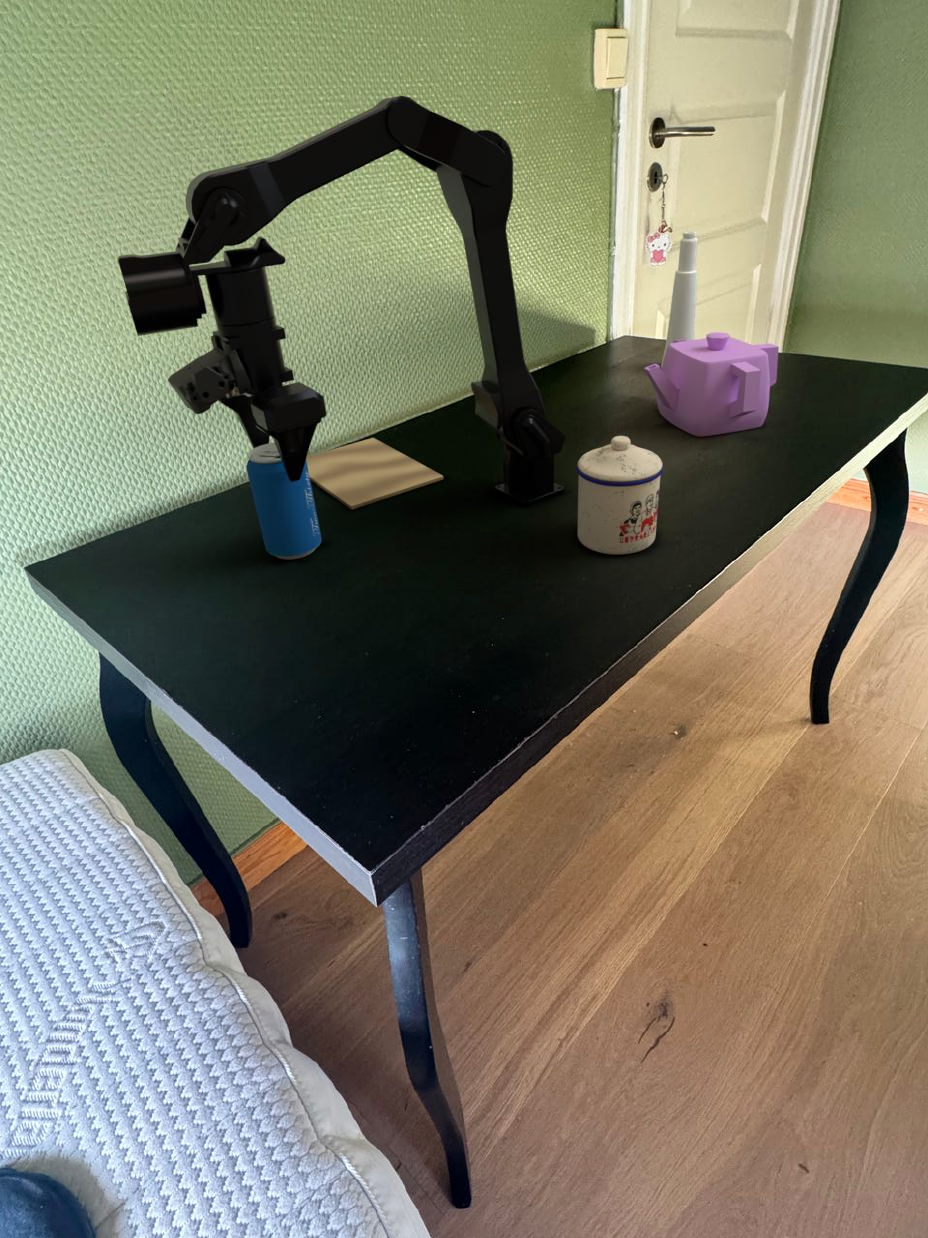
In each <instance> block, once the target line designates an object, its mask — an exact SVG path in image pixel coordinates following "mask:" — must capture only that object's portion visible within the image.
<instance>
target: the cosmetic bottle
mask: <svg viewBox="0 0 928 1238" xmlns="http://www.w3.org/2000/svg"><path fill="white" fill-rule="evenodd" d="M697 233H698V232H696V231H684V232H682V238H681V239H680V241H679V242H680V243H679V254H678V265H677V266H678V267H677V270H675V273H674V279H673V287H672V295H671V304H670V310H669V311H670V313H669V320H668V327H667V335H666V340H665V346H664V351H663V356H662V360H661V364H660V368H661V369H662V365H663V361H664V358H665V354H666V351H667V348H668V345H669V344H671V343H673V340H680V339H684V340H687V341H689V340H695V334H696V333H695V332H696V331H695V328H696V307H697V289H698V288H697V287H698V270H697V269H696V265H697V263H696V262H697V255H698V254H697V252H698V241H699V240H698V238H697V235H698V234H697Z"/></svg>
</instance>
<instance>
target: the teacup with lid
mask: <svg viewBox="0 0 928 1238" xmlns="http://www.w3.org/2000/svg"><path fill="white" fill-rule="evenodd" d="M576 472H577V474H578V488H577V491H578V493H577V538H578V540H579V542H580V543H581V544H582V545H583V546H584V547H586V548H587V549H589V550H592V551H594V552H597V553H599V554H600V553H601V554H605V555H617V556H618V555H630V554H635V553H638V552H641V551H644V550H645V549H648V548H649V547H650V546H652V544H653V543H654V541H655V540H656V535H657V534H656V533H657V524H658V523H657V522H658V511H659V498H660V485H661V476H662V474H663V473H664V464H663V461H662V459H661V458H660V456H659V455H657V454H656V453H655V452H653V451H651V450H649V449H646V448H642V447H638V446H636V445H635V444H631V439H630V438H629V437H628V436H625V435H616V436H614V437H613V438H611V441H610V444H606V445H604V446H602V447H598V448H594V449H592V450H591V449H590V451H587V452H585V453H584V454H583V455H582V456H580V458H579V460H578V461H577V464H576Z"/></svg>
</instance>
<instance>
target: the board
mask: <svg viewBox="0 0 928 1238" xmlns="http://www.w3.org/2000/svg"><path fill="white" fill-rule="evenodd" d="M306 461H307V466H308V471H309V476H310V482H311V483H313V484H315V485H317V487H319V488H321V489H322V490H323V491H324V492H326V493H328V494H329V495H330V496H332V497H333V498H335V499H336V500H338V501H339V502H340V503H342V504H343V505H345V506H346V507H347V508H348V509H350V510H355V509H359V508H361V507H364V506H367V505H370V504H373V503H376V502H377V503H378V502H379V501H383V500H387V499H388V498H392V497H395V496H397V495H401V494H403V493H406V492H409V491H412V490H415V489H418V488H421V487H425V486H428V485H431V484H434V483H437V482H440V481H442V480H444V479H445V478H444V475H442V474H440V473H439V472H437V471H435V470H434V469H432V468H430V467H427V466H426V465H424V464H422V463H420V462H419V461H417V460H415V459H414V458H411V457H410V456H408V455H406V454H404V453H402V452H400V451H398V450H396V449H395V448H393V447H391V446H389V445H387V444H386V443H384V442H382V441H380V440H378V439H377V438H375V437H371V438H368V439H364V440H361V441H357V442H353V443H350V444H346V445H343V446H340V447H336V448H333V449H329V450H326V451H325V450H324V451H323V452H319V453H316V454H315V453H314V454H312V455H309V456H308V455H307V457H306Z"/></svg>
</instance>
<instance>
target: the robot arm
mask: <svg viewBox="0 0 928 1238" xmlns="http://www.w3.org/2000/svg"><path fill="white" fill-rule="evenodd" d="M395 151H399V152H400V153H402V154H404V156H406V157H408V158H409V159H411V160H413V162H415V163H417V164H418V165H420V166H422V167H424V168H426V169H427V170H430V171H431V172H434V173H435V174H436V177H437V179H438V183H439V186H440V188H441V189H440V190H441V192H442V194H443V195H442V196H443V197H444V200H445V203H446V206H447V208H448V210H449V212H450V213H451V215H452V217H453V219H454V221H455V223H456V225H457V227H458V229H459V231H460V233H461V236H462V242H463V247H464V252H465V259H466V263H467V270H468V275H469V276H468V277H469V282H470V287H471V294H472V298H473V303H474V311H475V315H476V316H475V317H476V322H477V328H478V334H479V338H480V344H481V351H482V357H483V362H484V363H483V364H484V367H483V371H482V376H481V380H478V381H472V382H471V383H470V387H471V391H472V395H473V396H474V399H475V408H474V414H475V415H476V416H478V417H479V418H481V420H482V422H483V423H484V425H485V426H486V427H488V428H489V429H491V430H492V431H493V432H494V435H495V436H496V438H497V440H499V441H502V446H503V447H502V448H503V450H502V451H503V452H502V465H503V466H502V467H503V469H502V471H503V481H504V483H501V484H498V485H495V489H494V491H496V492H497V493H499V494H501V495H503V496H505V497H507V498H508V499H510V500H512V501H514V502H516V503H518V504H520V505H522V506H529V505H532V504H534V503H537V502H541V501H542V500H545V499H547V498H551V497H553V496H556V495H558V494H561V493H563V492H564V491H565V490H564V486H561V485H560V484H558V483H555V455H556V454H559V453H561V452H562V449H563V446H564V443H565V440H566V435H565V434H564V433H563V432H562V431H561V430H560V429H558V428H557V427H556V426H555V425H554V424H553V423H551V422H550V421H548V419H547V411H546V408H545V405H544V402H543V399H542V396H541V391H540V389H539V387H538V385H537V383H536V381H535V379H534V377H533V375H532V374H531V372H530V370H529V368H528V366H527V364H526V359H525V354H524V349H523V348H524V347H523V341H522V340H523V339H522V333H521V326H520V320H519V312H518V311H519V310H518V305H517V304H518V303H517V298H516V297H517V296H516V290H515V285H514V284H515V283H514V276H513V269H512V263H511V262H512V261H511V254H510V248H509V241H508V234H507V225H508V220H509V215H510V213H511V212H510V211H511V208H512V207H511V206H512V203H513V199H514V156H513V152H512V149H511V145H510V144H509V143H508V141H507V140H505V138H503V137H502V136H501V135H500V134H499V133H497V132H496V131H492V130H491V129H474V130H472V129H470V128H469V127H467V126H465V125H463V124H462V123H459V122H456V121H454V120H452V119H450V118H448V117H445V116H443V115H441V114H439V113H436V112H435V111H432V110H430V109H428V108H426V107H424V106H423V105H421V104H420V103H418V102H417V101H416V100H414V99H413V98H411V97H410V96H406V95H398V96H397V95H396V96H391V97H386V98H382V99H381V100H380V101H379V102H378V103H377V104H375V106H373V107H371V108H369V109H367V110H365V111H363V112H361V113H359V114H357V115H355V116H353V117H351V118H348V119H346V120H344V121H342V122H340V123H337V124H336V125H334V126H332V127H330V128H328V129H325V130H323V131H322V132H319V133H318V134H315V135H314V136H311V137H309V138H307V139H304V140H303V141H301V142H299V143H297V144H295V145H293V146H289V147H288V148H285V149H284V150H282V151H280V152H278V153H276V154H274V155H271V156H268V157H264V158H259V159H255V160H251V161H247V162H246V161H245V162H241V163H237V164H232V165H228V166H224V167H221V168H216V169H212V170H211V169H210V170H208V171H203V172H201V173H199V174H198V175H197V176H195V177H194V178H192V180H191V181H190V182H189V183H188V186H187V190H186V193H185V199H184V200H185V210H186V211H187V215H188V218H187V220H186V222H185V225H184V227H183V230H182V233H181V235H180V237H177V241H178V242H177V244H176V247H175V250H173V251H166V252H159V253H151V254H124V255H118V257H117V262H118V266H119V269H120V272H121V276H122V279H123V283H124V286H125V289H126V290H125V291H124V294H125V297H126V301H127V305H128V308H129V312H130V315H131V318H132V322H133V324H134V328H135V331H136V335H137V337H140V336H147V335H153V334H161V333H165V332H173V331H179V330H185V329H193V328H198V327H199V323H198V320H202V319H203V316H204V315H207V314H208V313H207V306H206V301H205V297H204V293H203V289H202V285H201V282H200V276H201V277H202V276H204V278H205V283H206V287H207V292H208V295H209V300H210V304H211V308H212V312H213V316H214V320H215V324H216V325H215V326H216V330H214V331H213V330H212V332H211V333H212V335H210V341H211V345H212V349H211V350H209V351H206V353H204V354H202V355H200V356H197V357H196V358H195V359H193V360H191V362H189V363H187V364H186V365H184V366H183V367H181V368H180V369H178V370H177V371H175V372H173V373H172V374H171V375H169V377H168V379H167V381H168V383H169V384H170V386H171V387H172V389H173V390H174V392H175V393H176V394H177V396H178V397H179V399H180V400H181V401H182V403H183V404H184V406H185V407H186V408H187V409H189V410H191V411H192V412H193V413H194V414H195V415H201V414H204V413H206V412H208V411H209V410H211V407H212V405H214V404H215V403H217V402H219V403H221V404H222V405H223V406H226V407H227V408H228V409H230V410H232V411H233V413H234V414H235V416H236V418H237V419H238V421H239V423H240V425H241V427H242V430H243V432H244V433H245V435H246V437H247V439H248V441H249V443H250V445H251V447H252V449H254V448H256V447H258V446H261V445H265V444H269V443H270V438H272V439H273V443H275V445H276V447H277V450H278V453H279V455H280V458H281V461H282V463H283V466H284V469H285V471H286V473H287V476H288V478H289V480H290V481H291V482H295V481H298V480H300V479H301V475H302V472H303V468H304V464H305V461H306V457H308V454H309V450H310V448H311V447H310V446H311V444H312V441H313V438H314V435H315V432H316V429H317V426H318V425H319V424H320V423H321V422H322V419H324V418H325V417H327V415H328V413H327V409H326V402H325V397H324V395H322V394H321V393H320V392H318V391H317V390H315V389H314V388H312V387H310V386H309V385H307V384H304V383H302V382H301V381H298V382H294V383H293V382H292V381H295V377H294V371H293V369H291V368H289V367H287V366H286V364H285V359H284V354H283V349H282V346H281V340H286V339H287V335H286V330H285V327H283V326H281V325H278V324H277V320H276V315H275V310H274V304H273V299H272V295H271V290H270V284H269V278H268V274H267V269H266V268H267V267H273V266H281V265H284V264H285V263H286V260H287V259H286V257H285V256H284V255H283V254H281V253H279V252H278V251H276V250H275V249H274V247H272V246H271V245H270V243H269V242H268V241H267V239H266V238H265V237H262V236H258V237H257V238H256V240H255V242H254V244H253V245H252V246H248V247H241V248H234V249H227V250H223V249H224V248H225V247H234V246H238V245H242V244H244V243H245V242H247V241H248V240H249V239H251V238H252V237H253V236H255V235H256V234H257V233H258V232H260V231H261V230H262V229H264V228H265V227H266V226H267V225H269V224H270V223H271V222H273V221H274V220H275V219H276V218H277V217H278V216H279V215H280V214H281V213H282V212H283V211H284V210H285V209H286V208H287V207H288V206H290V205H291V204H293V203H294V202H295V201H296V200H298V199H299V198H302V197H303V196H305V195H307V194H310V193H312V192H314V191H316V190H318V189H320V188H322V187H324V186H327V185H328V184H330V183H332V182H335V181H336V180H339V179H340V178H342V177H344V176H346V175H348V174H351V173H352V172H354V171H357V170H359V169H361V168H362V167H365V166H367V165H369V164H371V163H373V162H374V161H377V160H379V159H381V158H383V157H385V156H387V155H389V154H392V153H393V152H395ZM222 250H223V254H222V255H223V257H222V258H223V260H220V261H216V262H211V261H212V260H214V258H215V257H216V256H217V255H218V254H219V253H220V252H221V251H222ZM288 382H292V383H290V384H285V385H284V384H283V383H288Z"/></svg>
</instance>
